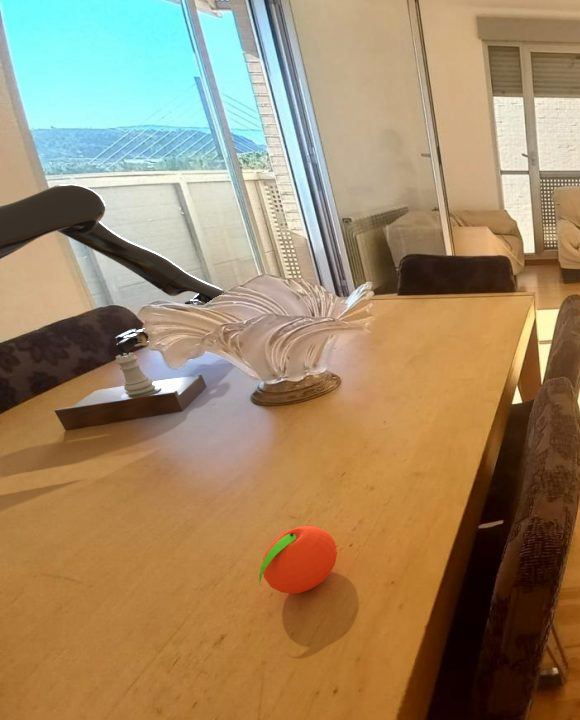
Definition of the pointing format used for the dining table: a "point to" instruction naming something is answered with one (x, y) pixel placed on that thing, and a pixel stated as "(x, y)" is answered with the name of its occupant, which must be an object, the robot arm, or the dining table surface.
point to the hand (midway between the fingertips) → (146, 345)
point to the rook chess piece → (134, 375)
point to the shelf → (131, 403)
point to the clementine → (299, 560)
